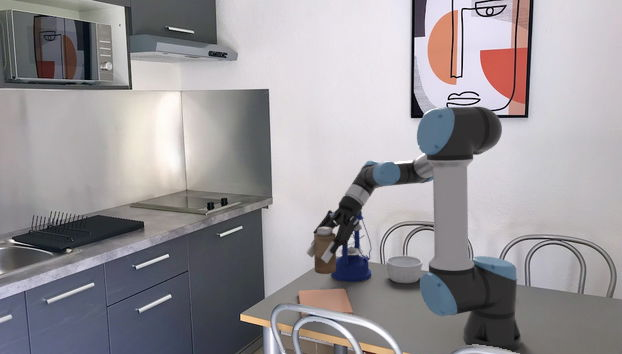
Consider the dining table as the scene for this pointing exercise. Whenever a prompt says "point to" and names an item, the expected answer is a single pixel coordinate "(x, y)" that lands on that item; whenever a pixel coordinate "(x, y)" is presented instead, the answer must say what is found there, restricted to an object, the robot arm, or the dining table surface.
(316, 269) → the pepper mill
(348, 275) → the lantern
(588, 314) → the dining table surface
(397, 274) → the ramekin
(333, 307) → the plate
